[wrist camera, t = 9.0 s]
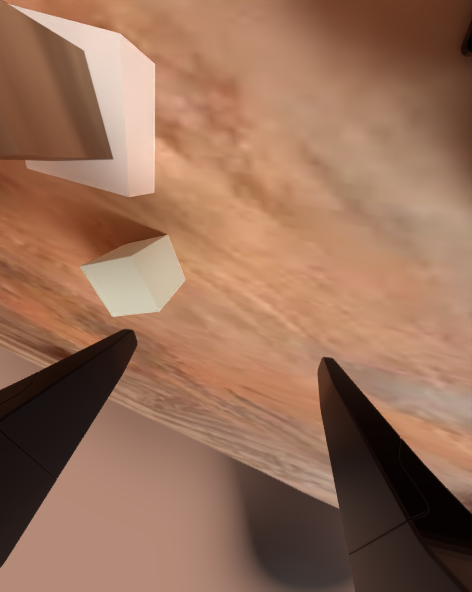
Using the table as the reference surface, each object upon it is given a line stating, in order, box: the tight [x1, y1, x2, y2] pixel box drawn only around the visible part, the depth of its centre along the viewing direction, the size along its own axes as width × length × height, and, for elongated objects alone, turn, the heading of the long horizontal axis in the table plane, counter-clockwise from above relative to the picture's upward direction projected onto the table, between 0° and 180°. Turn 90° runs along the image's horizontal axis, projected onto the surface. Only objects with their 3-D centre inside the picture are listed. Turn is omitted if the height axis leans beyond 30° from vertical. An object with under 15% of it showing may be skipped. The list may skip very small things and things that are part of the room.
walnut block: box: [0, 0, 113, 161], centre depth 10 cm, size 5×5×6 cm
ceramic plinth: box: [9, 4, 155, 197], centre depth 15 cm, size 8×8×4 cm
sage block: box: [80, 235, 186, 317], centre depth 19 cm, size 5×5×6 cm
